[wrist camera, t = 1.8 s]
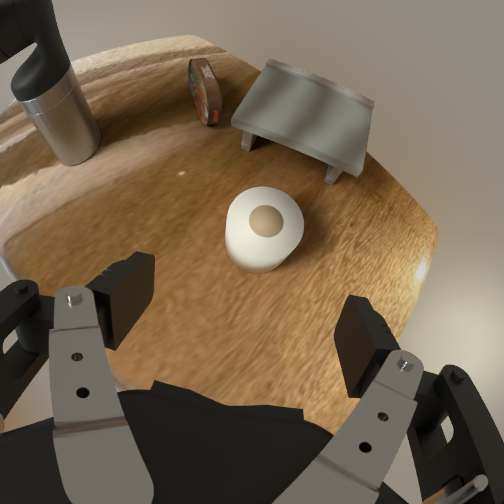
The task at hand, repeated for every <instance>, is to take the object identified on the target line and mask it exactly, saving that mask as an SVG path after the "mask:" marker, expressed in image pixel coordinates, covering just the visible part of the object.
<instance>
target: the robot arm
mask: <svg viewBox="0 0 504 504" xmlns="http://www.w3.org/2000/svg"><path fill="white" fill-rule="evenodd" d="M35 42H36V43H37V47H36V48H35V50H34V51H33V53H32V54H31V55H30V56H29V58H28V59H27V60H26V61H25V62H24V63H23V64H22V65H21V67H20V68H19V69H18V70H17V72H16V73H15V75H14V77H13V79H12V82H11V90H12V92H13V94H14V96H15V97H16V99H17V100H18V102H19V103H20V105H21V107H22V108H23V110H24V111H25V112H26V114H27V116H28V117H29V119H30V120H31V122H32V123H33V124H34V126H35V127H36V129H37V130H38V132H39V133H40V135H41V136H42V137H43V139H44V140H45V142H46V143H47V144H48V146H49V147H50V149H51V150H52V151H53V153H54V154H55V156H56V157H57V158H58V160H59V161H60V162H61V163H62V164H64V165H67V166H73V165H77V164H80V163H82V162H84V161H85V160H87V159H88V158H89V157H90V156H91V155H93V153H94V152H95V151H96V150H97V148H98V146H99V144H100V141H101V133H100V130H99V128H98V126H97V124H96V122H95V119H94V117H93V115H92V112H91V110H90V108H89V106H88V103H87V101H86V99H85V97H84V94H83V92H82V90H81V87H80V85H79V82H78V80H77V77H76V75H75V73H74V70H73V68H72V65H71V63H70V60H69V58H68V55H67V53H66V50H65V48H64V45H63V42H62V39H61V36H60V33H59V30H58V26H57V22H56V19H55V14H54V9H53V4H52V1H51V0H0V64H1V63H3V62H5V61H6V60H8V59H9V58H11V57H12V56H14V55H15V54H17V53H18V52H20V51H21V50H23V49H24V48H26V47H28V46H29V45H31V44H33V43H35ZM154 271H155V257H154V255H151V254H146V253H142V252H135V253H134V254H132V255H131V256H130V257H129V258H128V259H126V260H121V261H119V262H116V263H113V264H112V265H111V266H109V267H108V268H107V269H106V270H104V271H103V272H102V273H101V275H98V276H97V277H96V278H95V279H93V280H92V281H91V282H90V283H89V284H87V285H86V286H85V287H83V286H69V287H66V288H63V289H61V290H60V291H58V292H57V294H56V295H55V297H51V296H42V295H39V289H38V285H37V284H36V283H35V282H34V281H31V280H19V281H15V282H13V283H11V284H10V285H8V286H7V287H6V288H4V289H3V290H2V291H1V292H0V504H409V503H407V502H406V501H405V500H404V499H403V498H401V497H400V496H399V495H398V494H397V493H396V492H394V491H393V490H392V489H391V488H390V487H389V486H388V485H386V484H385V483H384V482H383V480H384V478H385V476H386V474H387V472H388V470H389V468H390V466H391V464H392V462H393V460H394V458H395V456H396V454H397V452H398V450H399V448H400V445H401V443H402V441H403V439H404V436H405V434H406V433H407V437H408V440H409V444H410V448H411V452H412V456H413V459H414V464H415V468H416V473H417V477H418V482H419V487H420V492H421V497H422V502H423V503H422V504H504V442H503V440H502V438H501V436H500V433H499V431H498V429H497V427H496V425H495V423H494V421H493V419H492V417H491V415H490V413H489V411H488V409H487V407H486V405H485V403H484V402H483V400H482V398H481V396H480V394H479V392H478V391H477V389H476V387H475V385H474V384H473V382H472V380H471V378H470V377H469V375H468V374H467V373H466V372H465V371H464V370H463V369H461V368H460V367H457V366H455V365H445V366H444V367H443V369H442V370H441V372H440V373H439V375H437V374H434V373H430V372H426V371H423V370H424V367H423V364H422V362H421V361H420V360H419V359H418V358H417V357H416V356H415V355H413V354H412V353H410V352H407V351H403V350H401V349H400V347H399V345H398V343H397V341H396V339H395V337H394V336H393V334H392V333H391V330H390V328H389V327H388V325H387V323H386V321H385V319H384V318H383V317H382V316H381V315H380V314H379V313H378V312H377V311H374V309H373V308H372V306H371V304H370V302H369V300H368V299H367V298H365V297H359V296H354V295H349V296H348V297H347V299H346V301H345V304H344V307H343V309H342V312H341V314H340V317H339V320H338V322H337V325H336V328H335V332H334V342H335V345H336V349H337V353H338V357H339V361H340V364H341V368H342V372H343V376H344V380H345V385H346V389H347V393H348V397H349V398H360V399H361V400H360V401H359V403H358V404H357V405H356V407H355V408H354V410H353V411H352V413H351V414H350V415H349V417H348V418H347V419H346V421H345V422H344V423H343V425H342V426H341V427H340V429H339V430H338V431H337V433H336V434H335V435H333V434H331V433H330V432H328V431H327V430H325V429H324V428H322V427H320V426H318V425H316V424H314V423H311V422H309V421H306V420H304V415H303V409H296V408H287V407H279V406H271V405H254V406H227V405H223V404H221V403H219V402H216V401H214V400H212V399H209V398H207V397H205V396H202V395H200V394H198V393H196V392H194V391H192V390H189V389H185V388H181V387H177V386H173V385H170V384H166V383H163V382H159V381H156V380H155V381H154V383H153V385H152V387H151V389H150V390H139V389H137V390H127V391H121V392H116V388H115V385H114V381H113V378H112V374H111V371H110V367H109V363H108V359H107V355H106V351H105V347H106V348H109V349H112V350H114V351H116V349H117V348H118V347H119V345H120V344H121V342H122V341H123V340H124V338H125V337H126V335H127V334H128V333H129V331H130V330H131V328H132V327H133V326H134V324H135V323H136V322H137V320H138V319H139V317H140V316H141V315H142V313H143V312H144V311H145V309H146V308H147V307H148V305H149V304H150V302H151V300H152V297H153V293H154ZM14 329H15V330H16V333H17V336H18V340H17V342H15V344H14V345H13V346H12V347H11V348H10V349H9V350H8V351H7V352H6V353H5V354H4V353H3V342H4V340H5V338H6V337H7V336H8V335H9V334H10V333H11V332H12V331H13V330H14ZM48 358H49V371H50V387H51V399H52V408H53V416H54V417H51V418H48V419H45V420H43V421H39V422H36V423H34V424H30V425H27V426H24V427H21V428H18V429H14V430H11V431H8V432H4V433H3V431H4V420H5V418H6V416H7V415H8V413H9V412H10V410H11V409H12V408H13V406H14V404H15V403H16V402H17V400H18V399H19V397H20V396H21V394H22V393H23V392H24V390H25V389H26V387H27V386H28V385H29V383H30V382H31V380H32V379H33V378H34V377H35V375H36V374H37V372H38V371H39V370H40V369H41V367H42V366H43V365H44V363H45V362H46V361H47V359H48ZM447 416H449V418H450V420H451V423H452V425H453V429H454V433H453V437H452V439H451V440H450V442H449V443H448V444H447V441H446V438H445V436H444V433H443V430H442V427H441V425H440V424H441V423H442V422H443V421H444V420H445V418H446V417H447Z"/></svg>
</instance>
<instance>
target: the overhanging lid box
mask: <svg viewBox="0 0 504 504" xmlns="http://www.w3.org/2000/svg"><path fill="white" fill-rule="evenodd" d="M373 108H374V101H372V100H370V99H368V98H366V97H364V96H362V95H360V94H358V93H356V92H354V91H352V90H349V89H347V88H345V87H343V86H341V85H339V84H336V83H334V82H332V81H329V80H327V79H325V78H322V77H319V76H317V75H315V74H312V73H310V72H307V71H304V70H301V69H299V68H296V67H293V66H290V65H287V64H284V63H281V62H278V61H275V60H272V59H269V60H268V62H267V63H266V67H265V68H264V69H263V71H262V72H261V74H260V75H259V76H258V78H257V79H256V81H255V82H254V84H253V85H252V87H251V88H250V90H249V91H248V93H247V94H246V96H245V97H244V99H243V101H242V102H241V104H240V105H239V107H238V108H237V110H236V112H235V113H234V115H233V116H232V119H231V126H232V127H235V128H238V129H241V130H243V136H242V143H241V149H243V150H246V151H248V152H249V151H250V149H251V147H252V145H253V143H254V141H255V139H256V137H257V135H258V136H261V137H264V138H266V139H269V140H272V141H274V142H277V143H279V144H282V145H284V146H287V147H289V148H292V149H294V150H297V151H299V152H302V153H304V154H307V155H309V156H311V157H314V158H316V159H318V160H320V161H323V162H325V163H327V164H328V168H327V171H326V175H325V178H324V182H325V183H327V184H329V185H332V184H333V183H334V182H335V181H336V179H337V178H338V177H339V175H340V174H341V173H342V171H345V172H347V173H349V174H351V175H353V176H355V177H358V176H359V175H360V173H361V172H362V171H363V165H364V160H365V154H366V148H367V142H368V135H369V129H370V122H371V114H372V109H373Z"/></svg>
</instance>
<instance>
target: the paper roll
mask: <svg viewBox="0 0 504 504" xmlns="http://www.w3.org/2000/svg"><path fill="white" fill-rule="evenodd" d="M303 232H304V219H303V215H302V212H301V210H300V208H299V206H298V205H297V203H296V202H295V201H294V200H293V199H292V198H291V197H290V196H289V195H287V194H286V193H284V192H283V191H280V190H278V189H275V188H271V187H254V188H251V189H248V190H246V191H244V192H242V193H241V194H240V195H238V196H237V197H236V198H235V199H234V201H233V202H232V204H231V206H230V208H229V210H228V215H227V223H226V232H225V249H226V252H227V255H228V257H229V258H230V260H231V261H232V262H233V263H234V264H235V265H236V266H237V267H238V268H240V269H241V270H243V271H246V272H249V273H254V274H261V273H266V272H269V271H272V270H273V269H275V268H276V267H278V266H279V265H280V264H281V263H282V262H283V261H284V260H285V259H286V257H287V256H288V255H289V254H290V253H291V252H292V251H293V250H294V249H295V248H296V246H297V245H298V244H299V242H300V240H301V238H302V236H303Z"/></svg>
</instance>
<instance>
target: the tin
mask: <svg viewBox="0 0 504 504" xmlns="http://www.w3.org/2000/svg"><path fill="white" fill-rule="evenodd" d="M188 73H189V85H190V90H191V94H192V97H193V100H194V103H195V106H196V109H197V112H198V114H199V117H200V120H201V122H202V124H203V125H204V126H207V125H210V124H216V123H219V122H220V120H221V119H220V118H221V112H222V106H223V102H222V94H221V90H220V86H219V84H218V81H217V79H216V77H215V75H214V73H213V71H212V69H211V67H210V64H209V62H208V61H207V59H205V58H198V59H190V61H189V68H188Z"/></svg>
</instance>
